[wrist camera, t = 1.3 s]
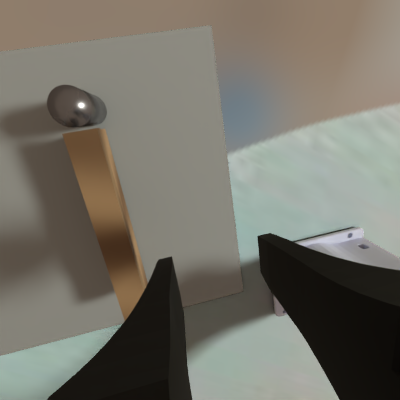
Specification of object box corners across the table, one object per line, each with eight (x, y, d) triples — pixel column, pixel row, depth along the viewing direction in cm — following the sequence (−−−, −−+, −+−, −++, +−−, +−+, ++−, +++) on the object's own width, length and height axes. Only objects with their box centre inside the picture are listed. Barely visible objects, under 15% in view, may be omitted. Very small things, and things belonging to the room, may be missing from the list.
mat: (210, 26, 17) (211, 25, 16) (242, 289, 24) (243, 291, 24) (-203, 78, 14) (-210, 77, 14) (-24, 359, 21) (-27, 362, 21)
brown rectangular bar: (82, 130, 17) (62, 133, 13) (109, 126, 17) (96, 128, 13) (130, 288, 21) (125, 324, 17) (151, 282, 21) (151, 317, 18)
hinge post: (102, 92, 17) (83, 81, 12) (110, 123, 17) (95, 124, 13) (72, 97, 16) (40, 87, 12) (81, 127, 17) (55, 130, 12)
